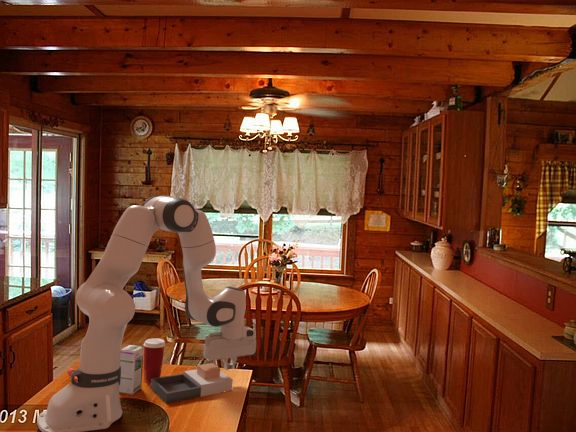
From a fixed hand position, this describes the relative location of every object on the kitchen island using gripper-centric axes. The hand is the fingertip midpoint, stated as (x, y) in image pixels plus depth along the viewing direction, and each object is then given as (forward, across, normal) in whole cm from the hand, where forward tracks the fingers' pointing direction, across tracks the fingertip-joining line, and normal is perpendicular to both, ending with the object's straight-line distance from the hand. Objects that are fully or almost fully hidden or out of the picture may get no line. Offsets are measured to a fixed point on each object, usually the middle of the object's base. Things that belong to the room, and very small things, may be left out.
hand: (228, 368), depth 170 cm
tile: (+1, -8, 0) cm, 8 cm away
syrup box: (+5, -33, +8) cm, 35 cm away
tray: (+5, -20, 0) cm, 21 cm away
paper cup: (+5, -23, +14) cm, 28 cm away
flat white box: (+5, -8, 0) cm, 10 cm away
